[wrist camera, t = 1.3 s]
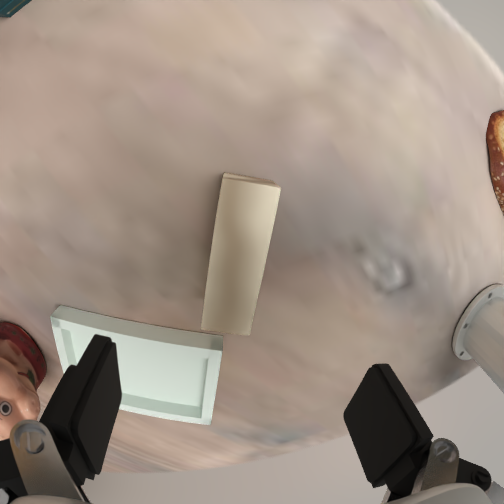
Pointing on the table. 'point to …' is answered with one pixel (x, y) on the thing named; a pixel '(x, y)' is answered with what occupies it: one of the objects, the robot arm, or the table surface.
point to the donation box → (11, 7)
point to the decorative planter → (18, 377)
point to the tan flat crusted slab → (497, 153)
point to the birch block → (238, 252)
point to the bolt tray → (149, 363)
